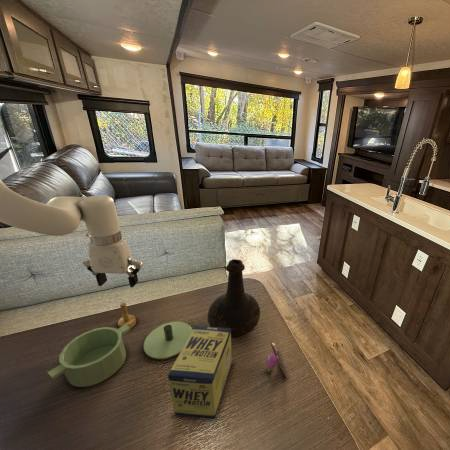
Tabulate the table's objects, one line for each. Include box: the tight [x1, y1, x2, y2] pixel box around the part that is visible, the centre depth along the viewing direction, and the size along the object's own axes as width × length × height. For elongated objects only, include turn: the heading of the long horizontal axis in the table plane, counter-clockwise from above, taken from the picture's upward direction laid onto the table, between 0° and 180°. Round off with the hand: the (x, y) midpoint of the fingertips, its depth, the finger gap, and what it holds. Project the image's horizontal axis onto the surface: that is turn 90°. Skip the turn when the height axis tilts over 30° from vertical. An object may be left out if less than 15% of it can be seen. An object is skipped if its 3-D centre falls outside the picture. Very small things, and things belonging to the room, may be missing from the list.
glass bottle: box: [207, 258, 261, 340], centre depth 84 cm, size 18×18×28 cm
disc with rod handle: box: [117, 302, 137, 329], centre depth 85 cm, size 5×5×9 cm
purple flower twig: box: [266, 341, 287, 379], centre depth 75 cm, size 7×5×9 cm
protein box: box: [167, 324, 233, 420], centre depth 66 cm, size 10×16×16 cm
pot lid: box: [143, 321, 193, 360], centre depth 81 cm, size 15×15×6 cm
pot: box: [46, 325, 131, 388], centre depth 71 cm, size 14×19×8 cm
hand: (118, 284), depth 80 cm, fingers open, 9 cm apart
